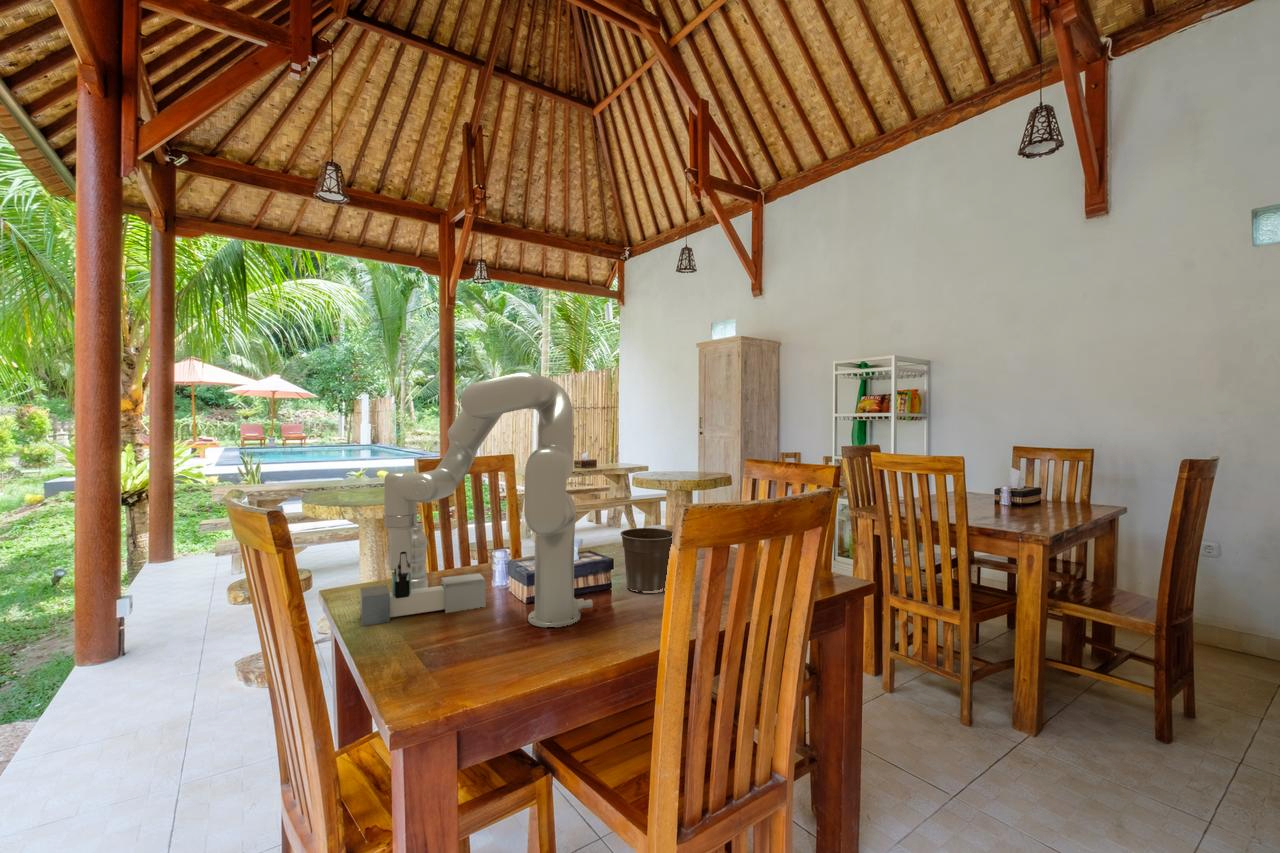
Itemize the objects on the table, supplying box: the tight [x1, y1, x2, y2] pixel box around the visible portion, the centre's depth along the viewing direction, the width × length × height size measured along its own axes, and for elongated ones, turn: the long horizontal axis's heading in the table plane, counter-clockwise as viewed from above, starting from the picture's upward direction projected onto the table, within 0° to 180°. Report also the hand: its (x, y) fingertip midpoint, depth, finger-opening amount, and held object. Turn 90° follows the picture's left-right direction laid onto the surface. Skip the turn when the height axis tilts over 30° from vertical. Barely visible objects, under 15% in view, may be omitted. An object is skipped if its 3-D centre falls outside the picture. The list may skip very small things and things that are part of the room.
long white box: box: [389, 571, 445, 618], centre depth 143 cm, size 20×4×10 cm, turn 118°
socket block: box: [359, 584, 391, 627], centre depth 140 cm, size 6×8×7 cm
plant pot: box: [620, 527, 674, 593], centre depth 166 cm, size 16×16×16 cm
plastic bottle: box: [409, 521, 429, 590], centre depth 160 cm, size 6×7×20 cm
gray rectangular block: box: [440, 572, 487, 614], centre depth 150 cm, size 10×7×7 cm
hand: (401, 593), depth 142 cm, fingers closed on long white box, 4 cm apart
